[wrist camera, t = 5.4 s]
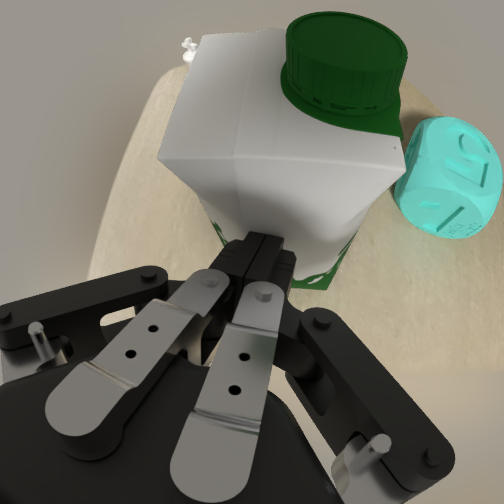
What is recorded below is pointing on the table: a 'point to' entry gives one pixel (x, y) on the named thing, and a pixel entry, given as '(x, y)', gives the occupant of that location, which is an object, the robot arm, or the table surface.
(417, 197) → the decorative dice
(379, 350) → the table surface
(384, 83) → the soya milk
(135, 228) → the table surface
